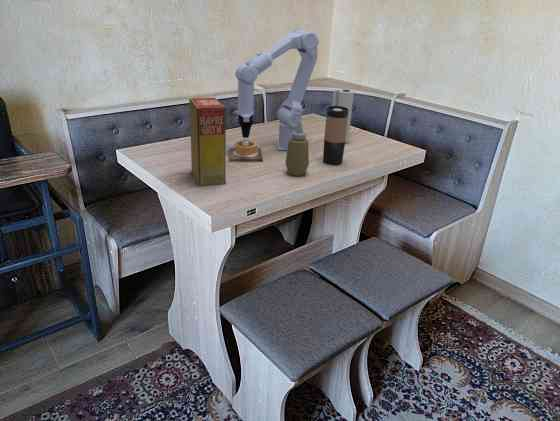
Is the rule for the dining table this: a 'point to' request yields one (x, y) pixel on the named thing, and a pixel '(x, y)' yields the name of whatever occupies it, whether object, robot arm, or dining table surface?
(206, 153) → the food packaging
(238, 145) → the wooden ring
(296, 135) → the squeeze bottle
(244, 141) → the steel shaft
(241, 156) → the walnut base plate
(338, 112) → the travel mug
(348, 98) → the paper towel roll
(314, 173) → the dining table surface
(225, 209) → the dining table surface
